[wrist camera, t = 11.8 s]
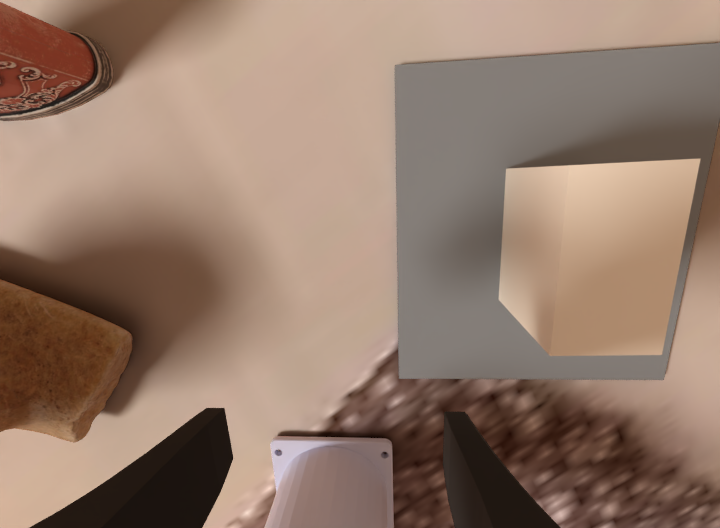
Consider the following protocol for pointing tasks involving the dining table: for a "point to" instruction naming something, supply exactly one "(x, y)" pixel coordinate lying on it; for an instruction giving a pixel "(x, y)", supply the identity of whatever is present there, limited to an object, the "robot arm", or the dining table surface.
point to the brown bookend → (55, 364)
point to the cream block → (595, 253)
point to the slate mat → (522, 150)
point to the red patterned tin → (46, 67)
